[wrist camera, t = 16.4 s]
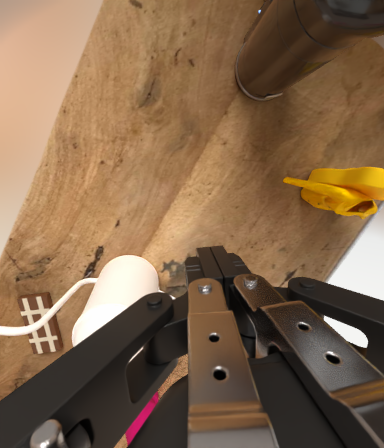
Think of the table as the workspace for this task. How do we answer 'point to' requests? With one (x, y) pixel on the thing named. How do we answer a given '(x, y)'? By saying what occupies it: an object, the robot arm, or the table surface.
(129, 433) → the pepper mill
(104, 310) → the coffeepot
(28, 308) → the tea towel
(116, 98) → the table surface
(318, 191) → the figure statuette
